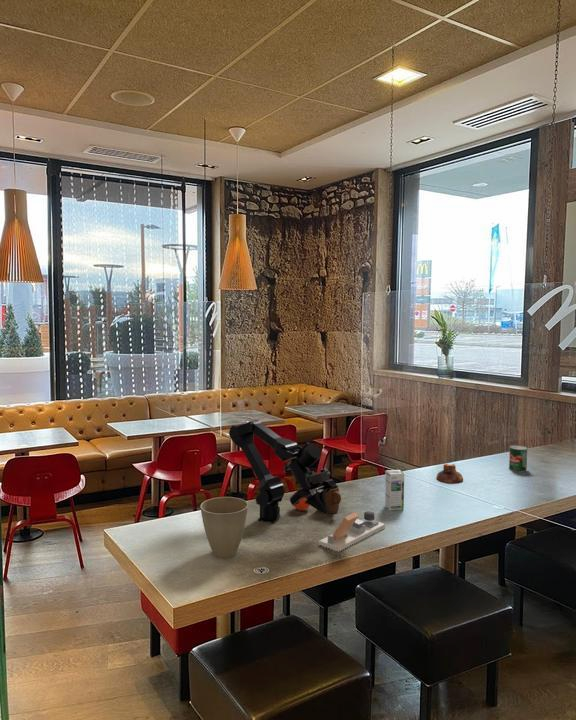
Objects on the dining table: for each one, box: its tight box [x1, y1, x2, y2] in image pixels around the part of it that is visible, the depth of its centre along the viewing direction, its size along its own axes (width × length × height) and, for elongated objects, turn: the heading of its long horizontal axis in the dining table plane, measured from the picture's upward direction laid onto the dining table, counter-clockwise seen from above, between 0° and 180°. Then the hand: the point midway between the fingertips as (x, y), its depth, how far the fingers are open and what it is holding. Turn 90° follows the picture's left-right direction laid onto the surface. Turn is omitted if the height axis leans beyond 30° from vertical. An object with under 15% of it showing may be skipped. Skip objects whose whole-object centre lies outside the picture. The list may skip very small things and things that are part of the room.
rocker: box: [353, 518, 364, 527], centre depth 195 cm, size 4×3×1 cm
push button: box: [363, 510, 375, 521], centre depth 201 cm, size 4×4×2 cm
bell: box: [435, 463, 464, 484], centre depth 259 cm, size 12×12×7 cm
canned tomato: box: [508, 444, 528, 473], centre depth 274 cm, size 8×8×11 cm
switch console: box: [318, 518, 386, 553], centre depth 194 cm, size 8×27×4 cm, turn 138°
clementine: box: [294, 498, 311, 511], centre depth 219 cm, size 8×7×7 cm
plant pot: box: [199, 496, 249, 559], centre depth 180 cm, size 15×15×16 cm
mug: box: [325, 484, 342, 514], centre depth 217 cm, size 12×8×9 cm, turn 25°
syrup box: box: [384, 469, 405, 511], centre depth 222 cm, size 6×6×14 cm
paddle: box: [331, 512, 359, 541], centre depth 186 cm, size 2×6×11 cm
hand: (326, 513), depth 191 cm, fingers closed
